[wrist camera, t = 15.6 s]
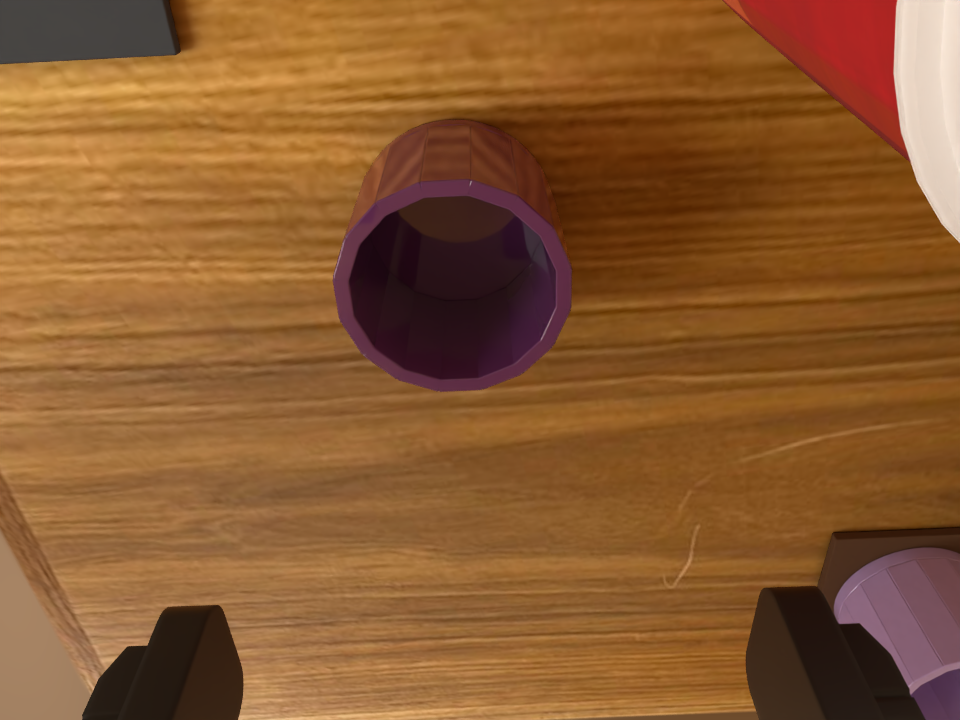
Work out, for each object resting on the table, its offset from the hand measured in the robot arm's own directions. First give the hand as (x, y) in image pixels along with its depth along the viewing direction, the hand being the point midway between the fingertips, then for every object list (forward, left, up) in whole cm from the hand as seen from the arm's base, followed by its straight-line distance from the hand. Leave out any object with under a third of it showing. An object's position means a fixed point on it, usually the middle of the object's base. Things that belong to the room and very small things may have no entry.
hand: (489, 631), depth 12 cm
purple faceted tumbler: (-1, +1, -14) cm, 14 cm away
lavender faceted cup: (+17, -17, -14) cm, 27 cm away
